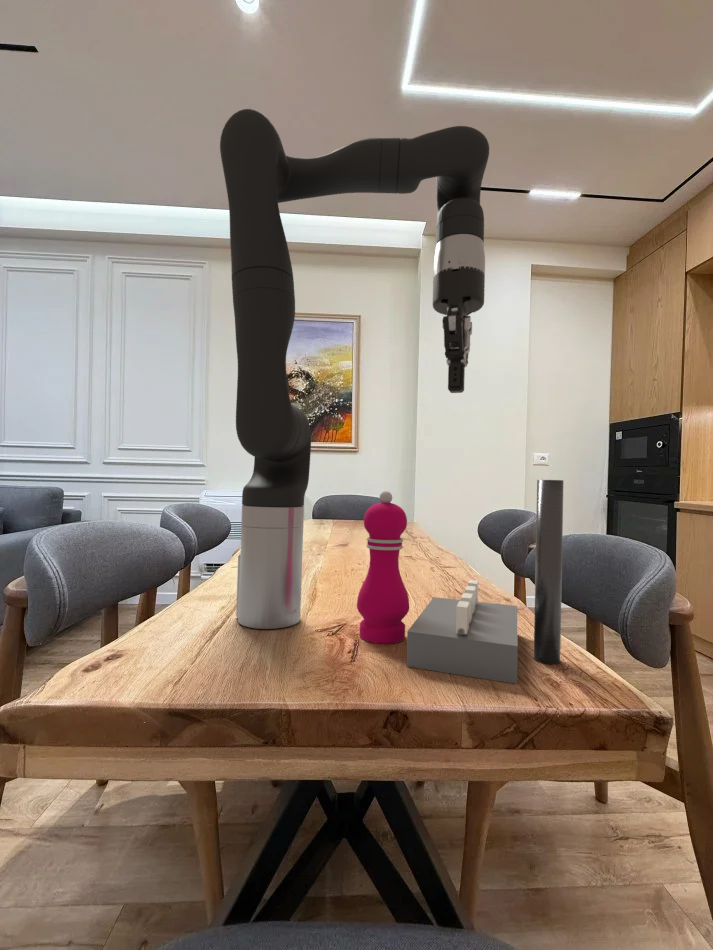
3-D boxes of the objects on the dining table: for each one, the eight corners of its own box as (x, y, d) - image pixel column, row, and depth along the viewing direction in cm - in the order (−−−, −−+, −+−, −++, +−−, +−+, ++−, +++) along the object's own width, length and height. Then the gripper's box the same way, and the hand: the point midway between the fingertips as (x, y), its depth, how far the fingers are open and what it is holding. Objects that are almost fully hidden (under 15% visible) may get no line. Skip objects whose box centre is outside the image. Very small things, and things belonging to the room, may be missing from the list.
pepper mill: (405, 647, 59) (410, 492, 59) (351, 642, 60) (355, 490, 61) (410, 630, 66) (414, 491, 66) (361, 626, 67) (365, 490, 68)
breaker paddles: (455, 634, 52) (456, 606, 52) (469, 601, 67) (469, 579, 67) (466, 636, 51) (467, 607, 52) (477, 602, 67) (478, 580, 67)
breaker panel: (406, 666, 53) (407, 631, 53) (432, 623, 70) (433, 597, 70) (516, 683, 49) (517, 646, 49) (516, 633, 66) (516, 606, 66)
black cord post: (529, 658, 56) (532, 479, 57) (540, 653, 58) (543, 480, 59) (554, 666, 54) (557, 479, 55) (564, 660, 56) (567, 480, 57)
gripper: (440, 296, 76) (437, 401, 75) (425, 258, 63) (422, 383, 63) (487, 291, 73) (485, 399, 73) (481, 250, 61) (478, 380, 60)
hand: (456, 391), depth 68 cm, fingers closed
